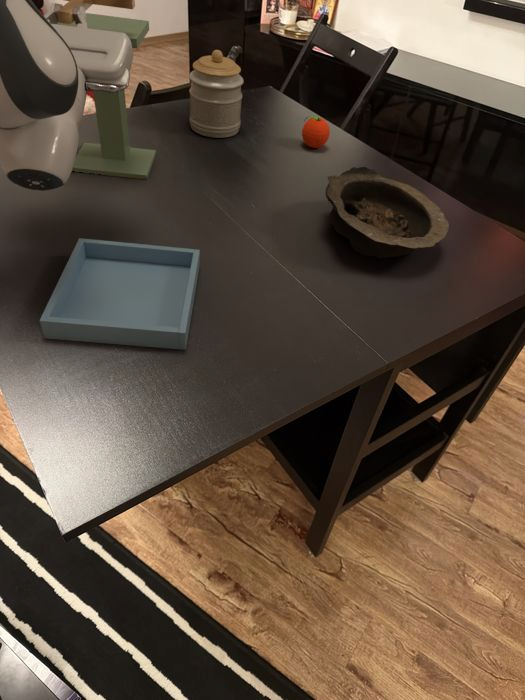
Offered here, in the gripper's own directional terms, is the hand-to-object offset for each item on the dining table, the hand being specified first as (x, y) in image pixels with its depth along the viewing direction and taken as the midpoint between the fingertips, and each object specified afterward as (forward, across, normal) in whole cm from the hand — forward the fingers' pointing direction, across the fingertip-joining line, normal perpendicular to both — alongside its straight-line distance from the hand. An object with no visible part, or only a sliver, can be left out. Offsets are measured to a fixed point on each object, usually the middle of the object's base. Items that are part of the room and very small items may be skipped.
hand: (69, 8), depth 72 cm
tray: (-41, -12, +12) cm, 44 cm away
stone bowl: (-20, -56, +25) cm, 64 cm away
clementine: (+14, -45, +44) cm, 65 cm away
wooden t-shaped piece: (+3, 0, +3) cm, 4 cm away
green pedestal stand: (-3, 0, +34) cm, 35 cm away
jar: (+18, -20, +46) cm, 54 cm away
